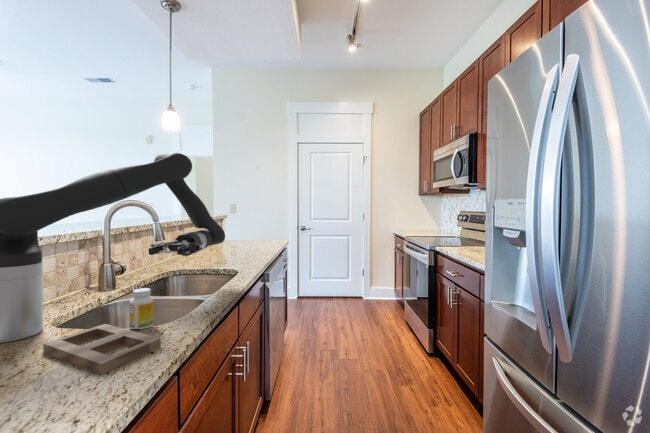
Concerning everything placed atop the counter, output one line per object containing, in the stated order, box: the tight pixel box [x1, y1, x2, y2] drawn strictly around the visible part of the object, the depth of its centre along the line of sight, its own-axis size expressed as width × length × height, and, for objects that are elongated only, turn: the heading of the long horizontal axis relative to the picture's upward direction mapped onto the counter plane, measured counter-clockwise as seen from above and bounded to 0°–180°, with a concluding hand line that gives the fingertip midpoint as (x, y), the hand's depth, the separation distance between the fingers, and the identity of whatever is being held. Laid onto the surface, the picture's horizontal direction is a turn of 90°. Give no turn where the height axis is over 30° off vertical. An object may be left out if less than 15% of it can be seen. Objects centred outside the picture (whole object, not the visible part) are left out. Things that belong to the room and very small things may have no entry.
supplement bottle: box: [128, 287, 155, 331], centre depth 77 cm, size 5×5×10 cm
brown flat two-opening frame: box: [42, 323, 162, 376], centre depth 64 cm, size 20×12×2 cm, turn 67°
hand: (164, 251), depth 86 cm, fingers open, 8 cm apart
